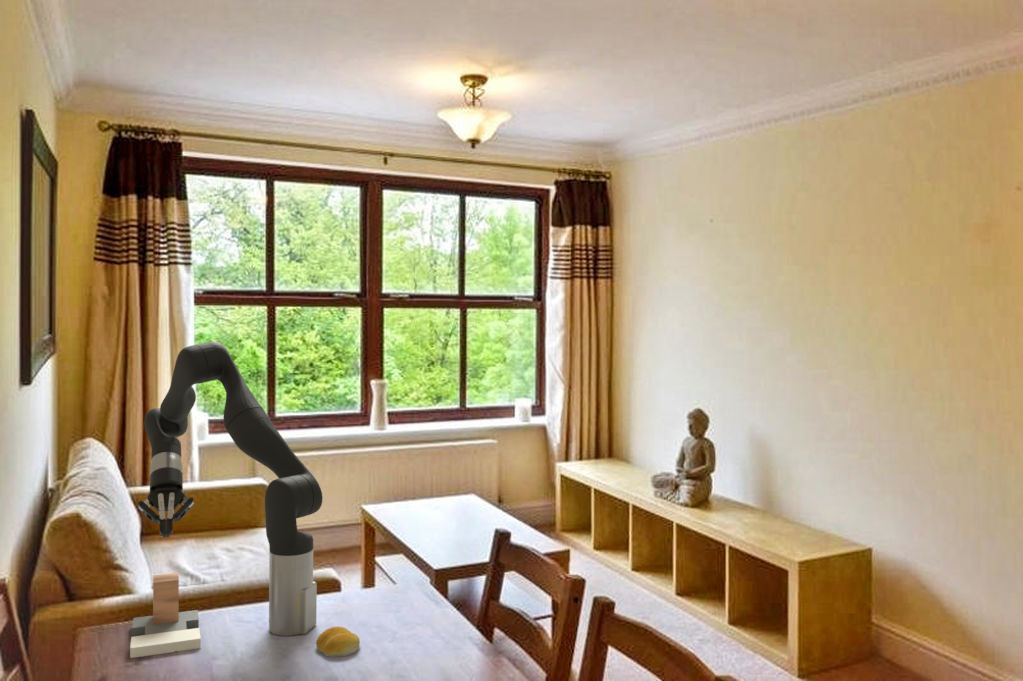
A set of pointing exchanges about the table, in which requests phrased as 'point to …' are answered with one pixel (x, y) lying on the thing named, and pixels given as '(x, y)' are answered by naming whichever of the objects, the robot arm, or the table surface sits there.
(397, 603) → the table surface
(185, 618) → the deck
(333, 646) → the bread roll
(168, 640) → the pad
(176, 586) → the block
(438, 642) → the table surface
